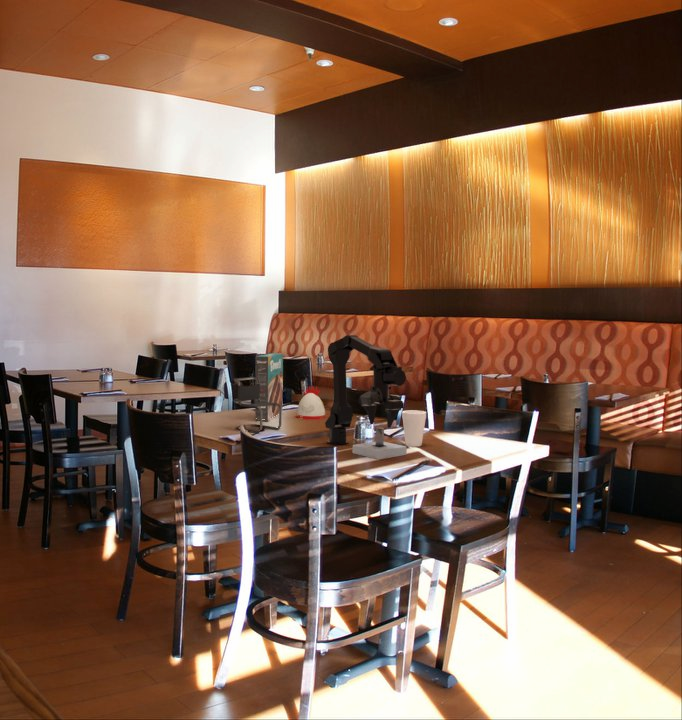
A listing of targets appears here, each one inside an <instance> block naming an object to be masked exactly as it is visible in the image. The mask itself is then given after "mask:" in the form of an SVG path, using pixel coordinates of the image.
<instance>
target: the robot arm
mask: <svg viewBox="0 0 682 720" xmlns="http://www.w3.org/2000/svg"><path fill="white" fill-rule="evenodd" d="M354 350H356V351H357V352H359V353H361V354H362V355H364V356H365V357H366V358H367V360H368V361H369V362H370V363H371V364H372V365H371V367H370V368H369V371H373V372H372V373H373V377H372V378H373V380H372V381H373V382H372V383H373V385H371V386H370V388H369V391H366V392H365V393H362V394H361V395H360V397H359V398H358V405H360V407H362V408H363V409H364V410H365V412H366V414H367V418H368V422H369V423H370V425H374V422H375V419H376V418H375V417H376V411H377V409H378V407H377V406H384V407H385V408H384V411H385V413H386V423H387V428H388V429H390V428H391V427H392V426H393V423H394V421H395V419H396V417H397V416H398V414H399V413H400V411H402V409H404V408H405V407H404V406H405V404H404V401H403V400H399V399H393V400H392V397H390V394H389V393H390V391H389V390H392V386H396V387H402V386H403V385H404V384H405V383H406V381H407V376H406V373H405V372H404V371H403V369H402V368H403V367H402V366H398V365H397V364H398V363H397V362H396V360H395V358H394V356H393V354H392V351H391V350H390V349H389V348H385V347H379V346H375V345H373V344H371V343H369V342H368V341H366V340H364V339H362V338H360V337H359V336H358V335H356V334H347V335H344V336H343V337H341V338H339V339H337V340H334V342H331V343H329V345H328V346H327V355H328V359H329V361H330V363H331V364H332V370H333V375H332V376H333V377H332V378H333V404H332V405H331V407H330V413H329V416H328V418H327V419H326V421H325V423H324V425H325V428H326V429H329V440H328V441H326V443H327V444H331V445H334V446H338V445H346V444H350V442H349V441H347V428H351V424H352V421H353V417H354V411H353V406H351V405H350V404H349V402H348V395H347V394H348V393H347V392H348V390H347V363H348V362H349V360H350V355H351V352H352V351H354Z"/></svg>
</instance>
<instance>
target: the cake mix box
mask: <svg viewBox="0 0 682 720" xmlns="http://www.w3.org/2000/svg"><path fill="white" fill-rule="evenodd" d="M283 363H284V354H283V353H274V352H272V353H270V352H269V353H265V354H261V355H256V356H255V377H257V378H258V379H259V381H260V400H261V401H264V402H271V403H278V404H279V405H280V406H281V409H282V410H283V404H284V403H283V402H284V401H283V397H284V396H283V395H284V394H283V392H284V391H283V387H284V385H283V384H284V383H283V381H284V379H283V378H284V364H283ZM255 385H257V380H255ZM254 401H255V403H258V402H259V401H258V399H254ZM259 407H260V408H261V409H262V419H265V420H262V423H269V422H271V421H273V420H275V419H277V417H278V418H279V415H278V414H279V408H278V406H273V405H271V406H259ZM254 410H255V413H254V416H255V417H254V418H257V419H254V420H255V421H254V422H257V421H260V411H259V409H256V408H254ZM276 415H277V416H276ZM274 416H275V417H274ZM272 417H273V418H272ZM270 418H271V419H270Z"/></svg>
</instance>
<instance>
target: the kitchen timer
mask: <svg viewBox="0 0 682 720" xmlns="http://www.w3.org/2000/svg"><path fill="white" fill-rule="evenodd" d="M320 391H321V389H319V390H318V387H317V386H316V387H315V388H314V386H312V388H311V386H310V385H309V386H308V388H305V390H302V392H303V395H304V396H303V397H302V398H301V400H300V401H299V404H298V406H297V409H296V419H299V418H303V419H302V420H307V419H316V420H321V419H320V418H324V419H326V409H325V406H324V402H323V401H322V399H321V398H320V397H319V396H318V395H319V393H320ZM297 415H298V416H297ZM300 416H303V417H300ZM321 416H323V417H321Z"/></svg>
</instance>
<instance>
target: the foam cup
mask: <svg viewBox="0 0 682 720" xmlns="http://www.w3.org/2000/svg"><path fill="white" fill-rule="evenodd" d="M401 411H402V410H401ZM401 413H402V414H401V416H402V423H403V425H402V426H403V435H404V443H405V444H404V445H405V446H406V447H412V448H413V447H415V448H416V447H421V446H422V444H423V438H424V430H425V425H426V420H427V411H424V410H417V409H415V410H412V409H411V410H403V411H402V412H401Z"/></svg>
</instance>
